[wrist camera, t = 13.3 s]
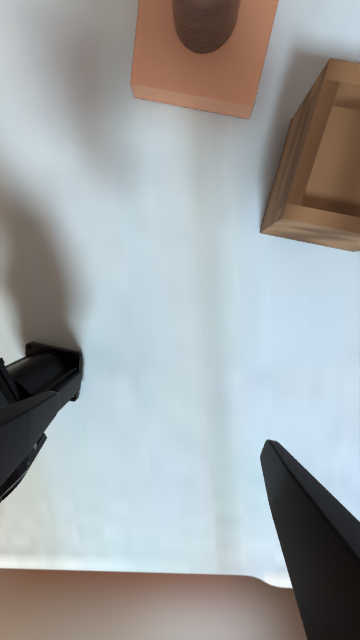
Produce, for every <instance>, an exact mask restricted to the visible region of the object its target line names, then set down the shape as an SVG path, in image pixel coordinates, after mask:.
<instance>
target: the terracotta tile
mask: <svg viewBox="0 0 360 640" xmlns="http://www.w3.org/2000/svg"><path fill="white" fill-rule="evenodd" d="M278 1H279V0H241V2H240V8H239V14H238V19H237V23H236V25H235V28H234V30H233V32H232V34H231V36H230V37H229V39H228V40H227V41H226V42H225V43H224V45H222V46H221V47H220V48H219V49H217V50H216V51H213V52H211V53H207V54H198V53H195V52H192V51H190V50H189V49H187V48H186V47H185V46H184V45H183V43H182V42H181V41H180V39H179V37H178V35H177V33H176V30H175V26H174V19H173V8H172V0H139V8H138V17H137V27H136V36H135V46H134V55H133V64H132V74H131V83H130V84H131V87H132V90H133V93H134V96H135V98H139V99H144V100H150V101H155V102H160V103H166V104H171V105H176V106H182V107H187V108H192V109H198V110H203V111H208V112H214V113H219V114H224V115H230V116H235V117H240V118H245V119H249V118H250V115H251V112H252V109H253V107H254V102H255V98H256V94H257V90H258V86H259V81H260V77H261V73H262V69H263V64H264V60H265V56H266V52H267V48H268V43H269V39H270V35H271V31H272V26H273V22H274V18H275V14H276V10H277V5H278Z"/></svg>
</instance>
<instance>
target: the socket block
mask: <svg viewBox="0 0 360 640" xmlns="http://www.w3.org/2000/svg"><path fill="white" fill-rule="evenodd" d="M260 233H262V234H267V235H272V236H277V237H282V238H287V239H292V240H297V241H302V242H307V243H312V244H317V245H322V246H327V247H332V248H337V249H342V250H347V251H352V252H355V251H360V63H355V62H349V61H344V60H338V59H333V58H330V59H329V61H328V62H327V64H326V66H325V67H324V69H323V70H322V72H321V74H320V75H319V77H318V78H317V80H316V82H315V83H314V85H313V86H312V88H311V90H310V91H309V93H308V94H307V96H306V98H305V99H304V101H303V102H302V104H301V106H300V107H299V109H298V110H297V112H296V113H295V115H294V117H293V118H292V120H291V124H290V127H289V131H288V134H287V138H286V141H285V145H284V149H283V152H282V156H281V159H280V163H279V166H278V170H277V174H276V177H275V181H274V184H273V188H272V191H271V195H270V199H269V202H268V206H267V209H266V213H265V216H264V220H263V224H262V227H261V231H260Z"/></svg>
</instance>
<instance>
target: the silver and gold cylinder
mask: <svg viewBox="0 0 360 640" xmlns="http://www.w3.org/2000/svg"><path fill="white" fill-rule="evenodd" d="M240 2H241V0H172V8H173V19H174V26H175V30H176V33H177V35H178V37H179V39H180V41H181V42H182V43H183V45H184V46H185V47H186V48H187V49H189V50H190V51H192V52H195V53H198V54H207V53H211V52H213V51H216V50H217V49H219V48H220V47H221V46H222V45H224V43H225V42H226V41H227V40H228V39H229V37H230V36H231V34H232V32H233V30H234V28H235V25H236V23H237V19H238V14H239V8H240Z"/></svg>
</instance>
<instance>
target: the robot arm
mask: <svg viewBox="0 0 360 640" xmlns="http://www.w3.org/2000/svg"><path fill="white" fill-rule="evenodd" d="M31 346H32V347H31ZM76 356H77V357H78V358H77V357H76ZM81 360H82V355H81V353H79V352H76V351H71V350H67V349H62V348H58V347H53V346H48V345H44V344H39V343H35V342H30V343H28V344H26V357H23V358H21V359H19V360H17V361H15V362H13V363H11V364H9V365H6V366H5V365H4V363H5V362H4V360H3V359H2V358H0V503H1V501H2V500H4V499H5V498H6V497H7V496H8V495H9V494H10V493H11V492H12V491H13V490H14V489H15V488H16V487H17V486H18V484H19V483H20V482H21V481H22V479H23V478H24V476H25V474H26V473H27V471H28V469H29V468H30V466H31V464H32V463H33V461H34V459H35V457H36V456H37V454H38V452H39V451H40V449H41V447H42V446H43V444H44V442H45V440H46V439H47V436H46V435H45V433H44V431H45V430H46V428H47V427H48V426H49V424H50V423H51V422H52V420H53V419H54V417H55V416H56V414H57V413H58V411H59V410H60V409H61V408H62V407H63V406H64V405H65V404H66V403H67V402H68V401H76V400H77V399H78V397H79V390H80V387H81V375H82V372H81ZM73 396H74V397H75V398H74V397H73ZM260 461H261V466H262V471H263V476H264V481H265V486H266V491H267V496H268V501H269V505H270V509H271V513H272V517H273V520H274V524H275V527H276V531H277V534H278V538H279V542H280V545H281V549H282V552H283V556H284V559H285V563H286V566H287V570H288V573H289V577H290V580H291V584H292V587H293V590H294V594H295V598H296V601H297V605H298V608H299V612H300V615H301V619H302V622H303V626H304V629H305V633H306V636H307V640H360V522H359V521H358V520H357V519H356V518H355V517H354V516H353V515H352V514H351V513H350V512H349V511H348V510H347V509H346V508H345V507H344V506H343V505H342V504H341V503H340V502H339V501H338V500H337V499H336V498H335V497H334V496H333V495H332V494H331V493H330V492H329V491H328V490H327V489H326V488H325V487H324V486H322V485H321V484H320V483H319V482H318V481H317V480H316V479H315V478H314V477H313V476H312V475H311V474H310V473H309V472H308V471H307V470H306V469H305V468H304V467H303V466H302V465H301V464H300V463H299V462H298V461H297V460H296V459H295V458H294V457H293V456H292V455H291V454H290V453H289V452H288V451H287V450H286V449H285V448H284V447H283V446H282V445H281V444H280V443H278V442H277V441H274V440H269V439H268V440H266V442H265V444H264V447H263V449H262V452H261V455H260Z"/></svg>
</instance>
